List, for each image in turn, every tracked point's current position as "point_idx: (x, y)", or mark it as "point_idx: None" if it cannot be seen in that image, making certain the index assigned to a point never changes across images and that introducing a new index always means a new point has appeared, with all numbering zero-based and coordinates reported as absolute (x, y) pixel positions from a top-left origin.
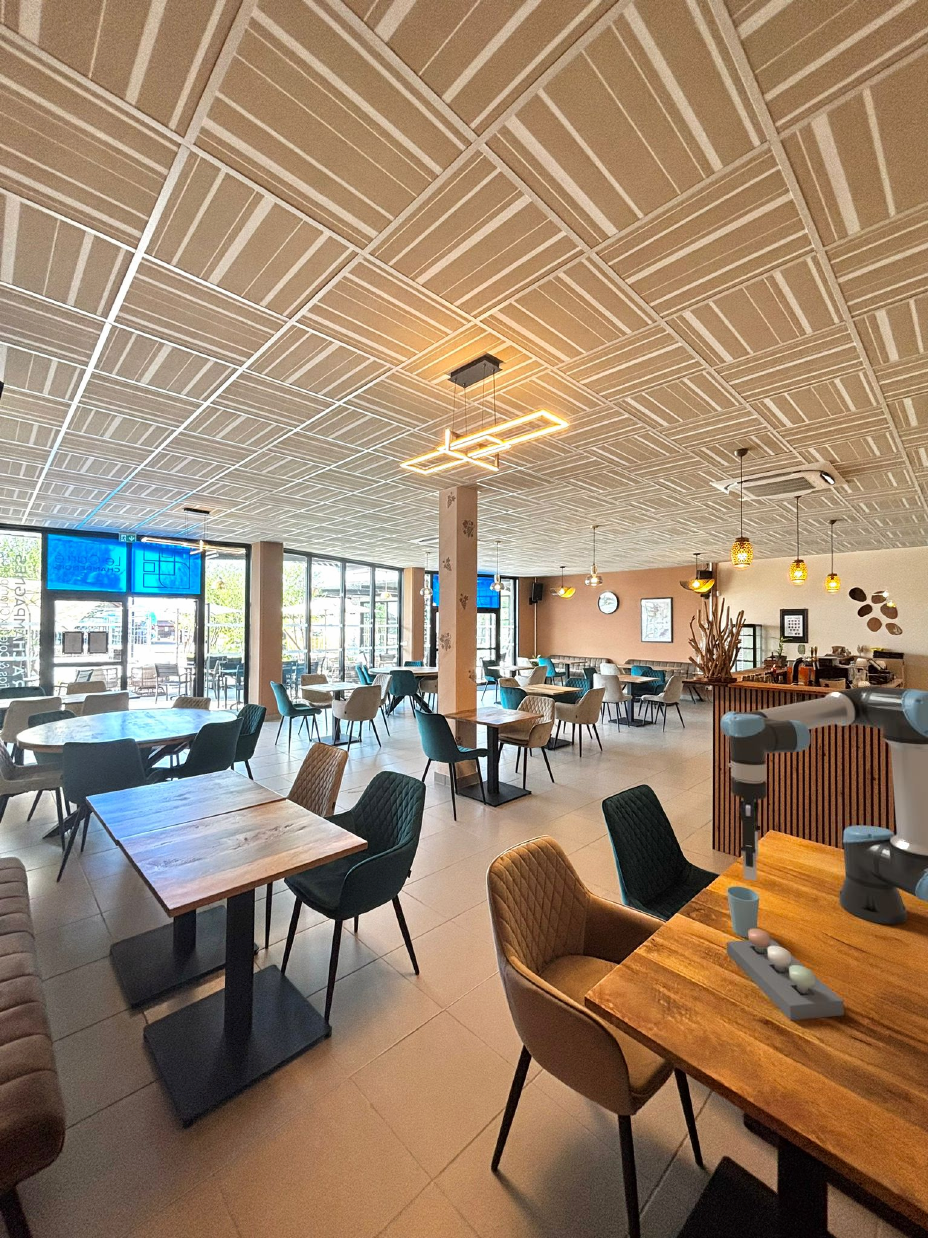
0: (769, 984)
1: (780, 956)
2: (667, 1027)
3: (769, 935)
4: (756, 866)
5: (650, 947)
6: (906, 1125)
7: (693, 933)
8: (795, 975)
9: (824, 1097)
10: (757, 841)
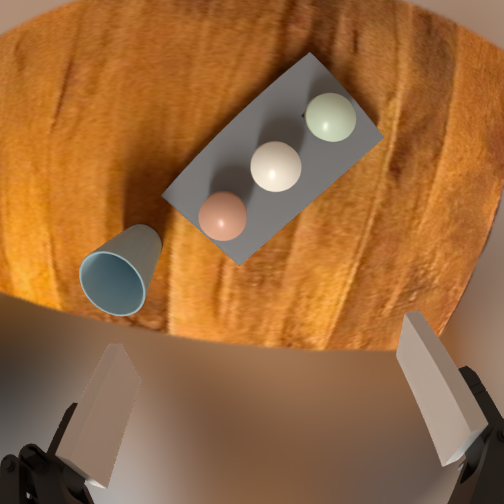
0: (341, 173)
1: (294, 162)
2: (450, 277)
3: (212, 197)
4: (437, 361)
5: (298, 348)
6: (462, 33)
7: (212, 312)
8: (352, 128)
9: (475, 107)
10: (90, 413)
